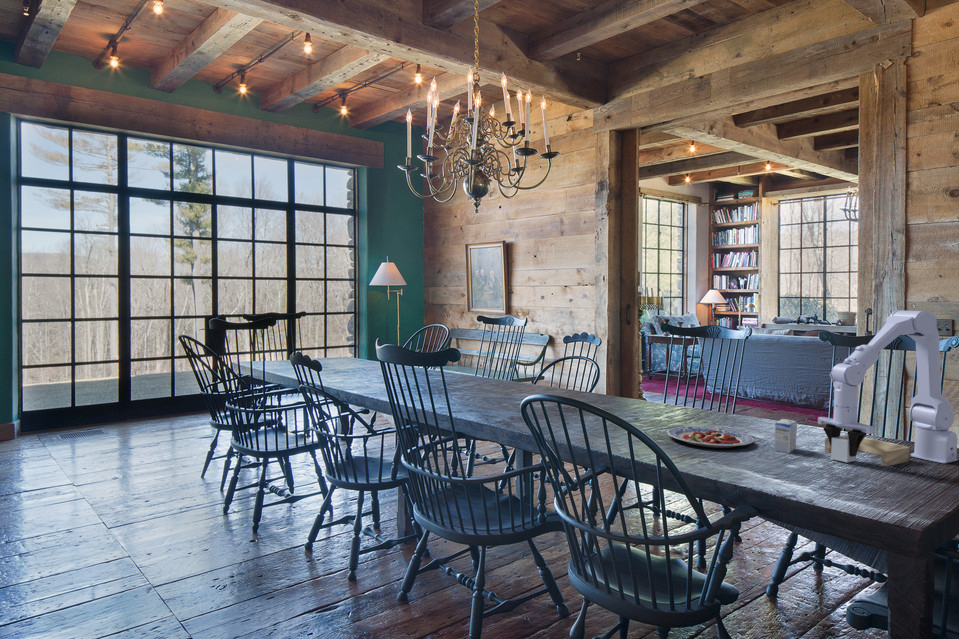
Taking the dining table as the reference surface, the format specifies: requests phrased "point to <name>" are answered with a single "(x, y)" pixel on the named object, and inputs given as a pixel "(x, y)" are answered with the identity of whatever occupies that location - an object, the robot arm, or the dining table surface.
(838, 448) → the block
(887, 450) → the birch frame
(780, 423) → the medicine box
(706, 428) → the ceramic plate
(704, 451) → the dining table surface
